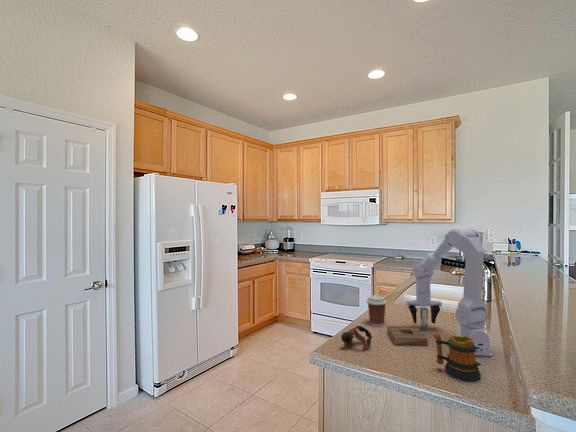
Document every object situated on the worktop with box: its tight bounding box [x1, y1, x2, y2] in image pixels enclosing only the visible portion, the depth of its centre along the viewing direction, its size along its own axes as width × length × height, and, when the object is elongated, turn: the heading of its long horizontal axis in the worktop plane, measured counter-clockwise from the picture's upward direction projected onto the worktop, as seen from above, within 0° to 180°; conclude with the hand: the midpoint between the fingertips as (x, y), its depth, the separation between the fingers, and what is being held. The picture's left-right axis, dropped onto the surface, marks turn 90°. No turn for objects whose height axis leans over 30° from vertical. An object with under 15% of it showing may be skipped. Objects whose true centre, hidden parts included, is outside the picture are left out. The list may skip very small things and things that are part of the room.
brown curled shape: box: [340, 325, 373, 351], centre depth 111 cm, size 12×10×8 cm
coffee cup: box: [366, 294, 388, 326], centre depth 136 cm, size 9×9×12 cm
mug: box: [432, 332, 482, 383], centre depth 92 cm, size 13×10×12 cm
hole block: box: [387, 325, 429, 347], centre depth 117 cm, size 12×12×3 cm
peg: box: [419, 306, 429, 331], centre depth 128 cm, size 3×3×9 cm
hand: (424, 322), depth 128 cm, fingers open, 7 cm apart
